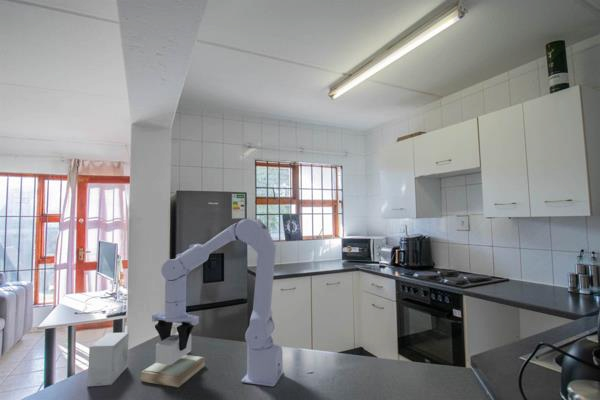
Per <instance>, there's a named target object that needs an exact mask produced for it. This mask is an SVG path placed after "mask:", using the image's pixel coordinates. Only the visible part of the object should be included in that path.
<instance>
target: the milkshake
mask: <svg viewBox="0 0 600 400" xmlns="http://www.w3.org/2000/svg"><path fill="white" fill-rule="evenodd" d="M180 325H182V323H173V325H172V329H171V335H173V334H175V333H177V332H178V331H177V327H178V326H180Z"/></svg>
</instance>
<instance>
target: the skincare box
mask: <svg viewBox="0 0 600 400" xmlns="http://www.w3.org/2000/svg"><path fill="white" fill-rule="evenodd" d="M129 334H130V333H129V332H128V331H127V332H125V331H124V332H107V333H106V334H104V335H103V336H102V337H100V338H99V339H98V340H96V341H95V342H94V343H92V344H91V345H90V346H89V350H88V351H89V352H88V353H89V354H88V371H87V379H86V380H87V381H86V383H87V384H86V387H87V388H88V387H101V386H112V385H113V384H114V382H116V380H117V379H118V378H119V377H120V376H121V375H122V373H123V372H124V371H125V370H126V369H127V368H128V355H129V336H130V335H129Z"/></svg>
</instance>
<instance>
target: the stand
mask: <svg viewBox="0 0 600 400" xmlns="http://www.w3.org/2000/svg"><path fill="white" fill-rule="evenodd" d="M205 359H206V358H205V357H204V356H198V355H197V356H196V355H189V354H186V355H185V356H183V357H182V358H180V359H179V360H177V361H176V362H174V363H173V364H172V365H168V364H160V363H156V362H154V363H153V364H152V365H150V366H148V367H146V368H145V369H144V370H142V371H140V375H141V376H140V382H144V383H150V384H156V385H162V386H168V387H175V388H179V387H181V386H182V385H183V384H184V383H186V382H187V381H188V380H189V379H191V378H192V377H193V376H194V375H195V374H197V373H198V372H200V371H201V370H202V369H204V367H205V363H206V362H205Z"/></svg>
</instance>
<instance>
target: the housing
mask: <svg viewBox="0 0 600 400" xmlns="http://www.w3.org/2000/svg"><path fill="white" fill-rule="evenodd" d="M191 351H192V333H190V335H189V338H188V342H187V346H186V348H185V349H184V350H182V351H180V349H179V335H178V332H177V333H175V334H173V335H171V336H170V337H168V338H166V339H164V340H163V341H161V340H160V342H159V341H158V342H157V343H155V363H160V364H168V365H172V364H173V363H174V362H176V361H177V360H179V359H180V358H182V357H183V356H185V355H188V354H189V353H190V352H191Z"/></svg>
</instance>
